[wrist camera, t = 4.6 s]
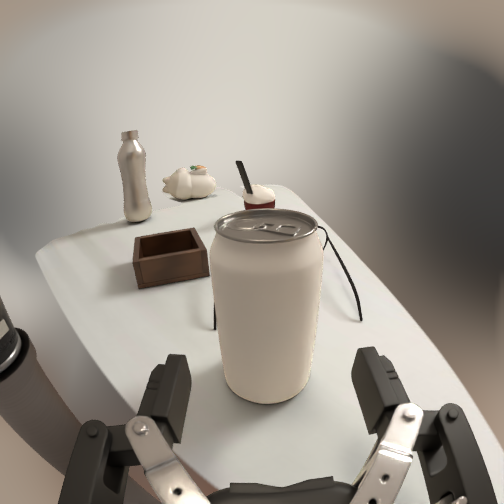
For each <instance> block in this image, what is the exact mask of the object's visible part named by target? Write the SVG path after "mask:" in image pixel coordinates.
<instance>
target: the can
mask: <svg viewBox="0 0 504 504" xmlns="http://www.w3.org/2000/svg"><path fill="white" fill-rule="evenodd" d="M317 227H318V223H317V221H316V220H315V219H314V218H313V217H311V216H309V215H307V214H304V213H301V212H297V211H292V210H286V209H271V208H266V209H251V210H244V211H239V212H235V213H231V214H228V215H226V216H223V217H222V218H220V219H219V220H217V221H216V223H215V225H214V228H215V231H216V235H215V238H214V240H213V243H212V246H211V249H210V267H211V277H212V287H213V295H214V304H215V312H216V320H217V327H218V334H219V342H220V349H221V355H222V362H223V368H224V374H225V378H226V381H227V384H228V385H229V387H230V388H231V390H232V391H233V392H234V393H236V394H237V395H238V396H240V397H242V398H244V399H246V400H248V401H251V402H255V403H263V404H270V403H278V402H282V401H285V400H288V399H290V398H292V397H294V396H295V395H297V394H298V393H299V392H300V391H301V390H302V389H303V388H304V387H305V385H306V384H307V382H308V379H309V375H310V370H311V364H312V358H313V351H314V344H315V337H316V329H317V321H318V312H319V303H320V293H321V282H322V270H323V248H322V245H321V242H320V240H319V238H318V235H317V233H316V230H317Z"/></svg>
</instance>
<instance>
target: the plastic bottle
mask: <svg viewBox="0 0 504 504" xmlns="http://www.w3.org/2000/svg"><path fill="white" fill-rule="evenodd" d="M137 138H138V131H137V130H134V131H128V132H122V139H121V140H122V141H123V144H122V146H121V148H120V150H119V153H118V156H117V159H118V164H119V168H120V172H121V177H122V181H123V192H124V214H125V217H126V219H127V220H128V221H130V222H138V221H142V220H145V219H148V218H149V217H150V215H151V213H152V206H151V202H150V199H149V197H148V191H147V186H146V179H145V177H146V176H145V161H146V159H145V157H146V153H145V150H144V148H143V147H142V146H141V145H140V143H139V142H138V141H137Z"/></svg>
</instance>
